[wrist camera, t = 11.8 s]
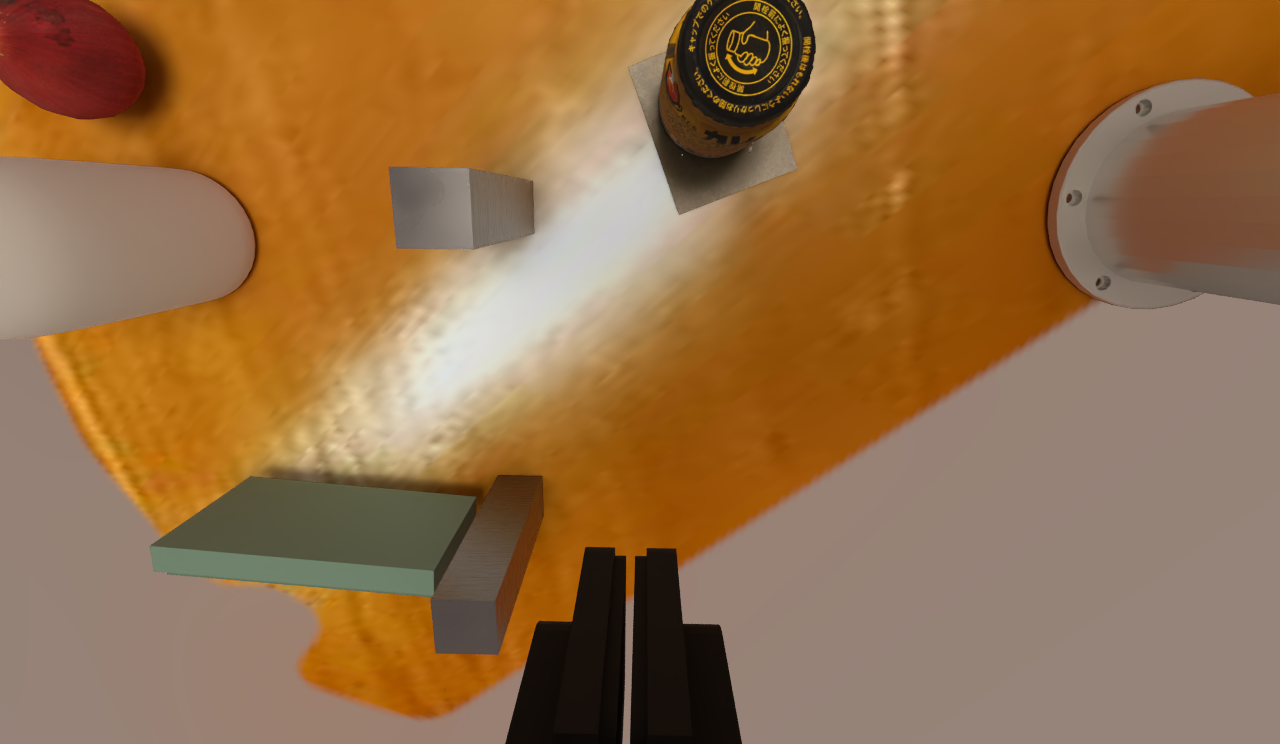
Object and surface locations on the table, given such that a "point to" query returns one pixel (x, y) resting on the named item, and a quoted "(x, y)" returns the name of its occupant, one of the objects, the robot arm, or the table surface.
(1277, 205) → the robot arm
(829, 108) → the table surface
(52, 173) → the milk bottle
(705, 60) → the condiment
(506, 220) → the gate posts
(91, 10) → the onion
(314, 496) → the gate
